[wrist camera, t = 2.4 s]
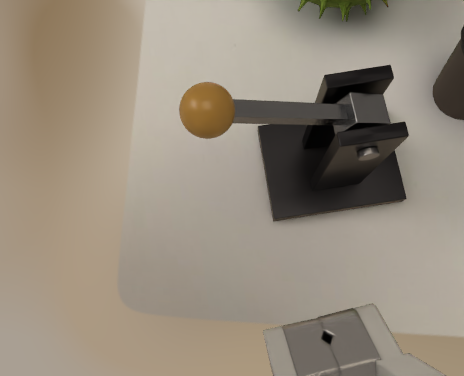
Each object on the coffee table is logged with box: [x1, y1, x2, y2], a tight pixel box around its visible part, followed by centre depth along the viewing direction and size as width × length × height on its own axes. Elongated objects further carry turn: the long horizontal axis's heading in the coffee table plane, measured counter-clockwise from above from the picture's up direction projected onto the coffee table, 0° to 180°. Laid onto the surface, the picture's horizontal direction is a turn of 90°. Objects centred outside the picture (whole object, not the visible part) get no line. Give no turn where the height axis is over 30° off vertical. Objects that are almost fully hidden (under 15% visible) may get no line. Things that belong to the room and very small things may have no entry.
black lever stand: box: [258, 65, 409, 221], centre depth 35 cm, size 12×9×14 cm
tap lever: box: [179, 82, 390, 139], centre depth 27 cm, size 14×3×3 cm, turn 98°
